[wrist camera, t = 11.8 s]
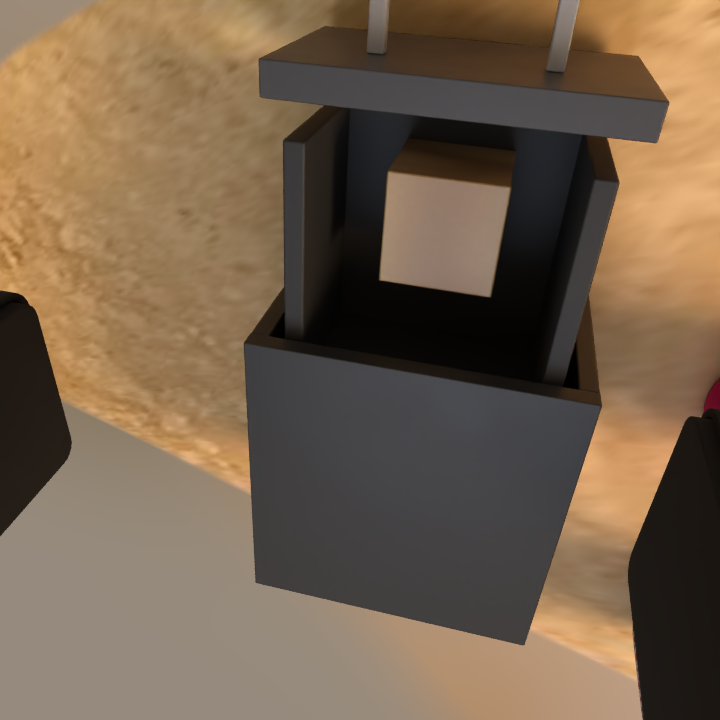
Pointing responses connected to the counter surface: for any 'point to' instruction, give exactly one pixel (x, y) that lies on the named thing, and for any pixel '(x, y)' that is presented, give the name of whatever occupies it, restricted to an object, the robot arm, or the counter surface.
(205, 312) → the counter surface
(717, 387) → the pepper mill
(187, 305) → the counter surface
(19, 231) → the counter surface
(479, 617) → the cabinet
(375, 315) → the drawer
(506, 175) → the block
